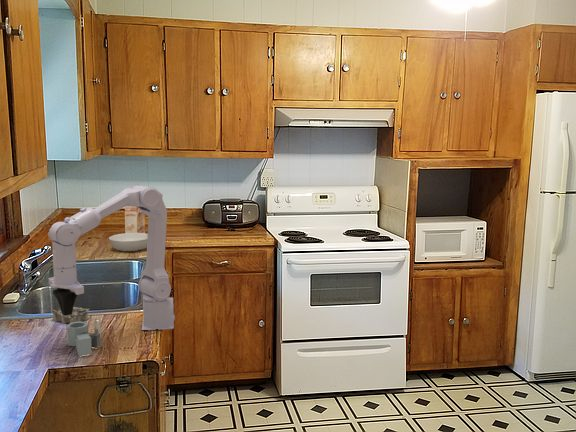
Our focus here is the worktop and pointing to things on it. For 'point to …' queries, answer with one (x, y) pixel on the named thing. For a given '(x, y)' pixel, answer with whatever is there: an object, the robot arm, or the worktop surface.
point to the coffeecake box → (134, 220)
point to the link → (79, 337)
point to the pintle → (97, 326)
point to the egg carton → (76, 315)
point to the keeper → (94, 339)
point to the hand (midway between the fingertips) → (67, 314)
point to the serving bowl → (129, 241)
